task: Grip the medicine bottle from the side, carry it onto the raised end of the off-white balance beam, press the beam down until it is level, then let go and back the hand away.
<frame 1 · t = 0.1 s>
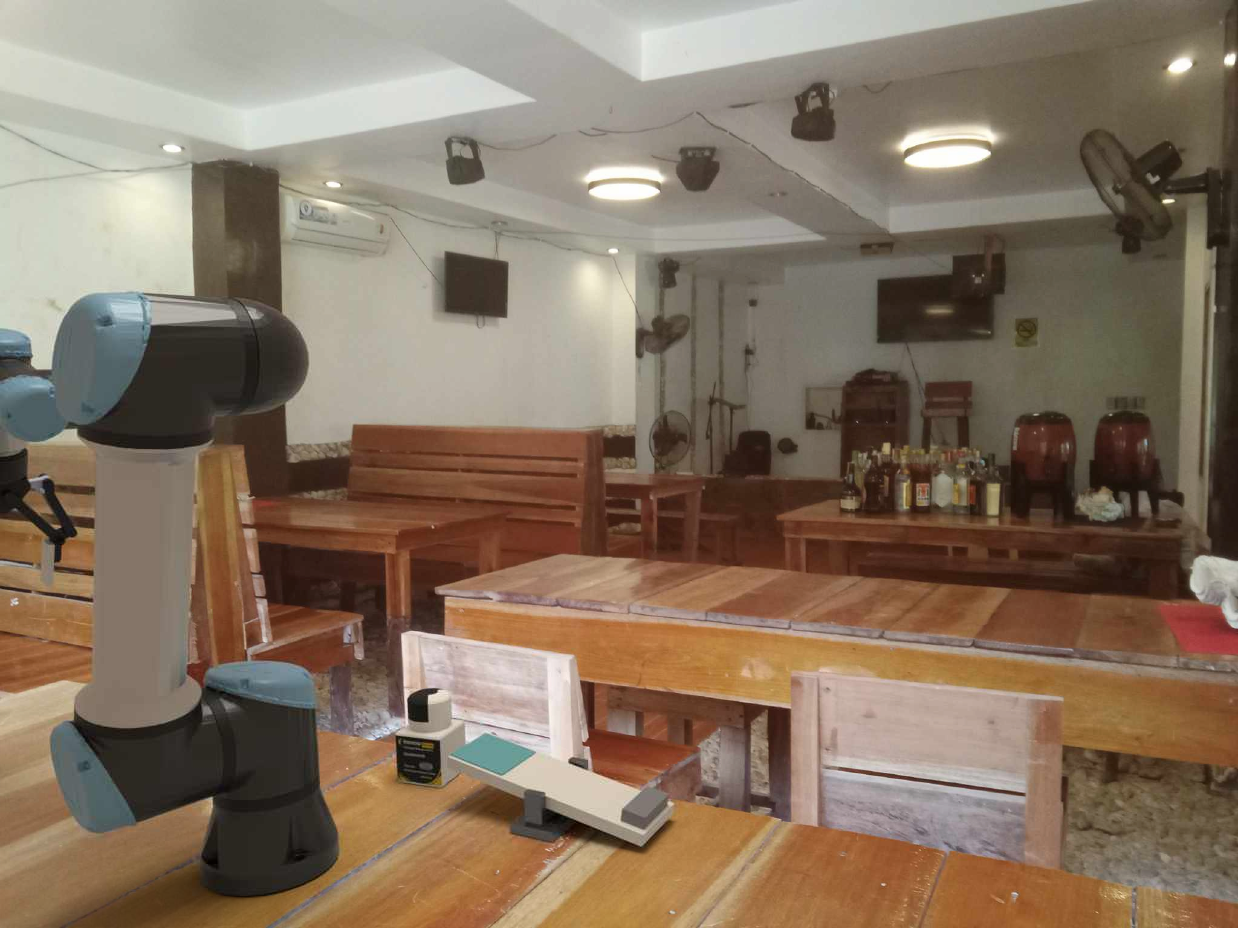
beam: (559, 779, 120), point 5 cm above the table, hinge at -10.0°
fulcrum: (558, 814, 120), on the table
medicine bottle: (432, 776, 134), on the table
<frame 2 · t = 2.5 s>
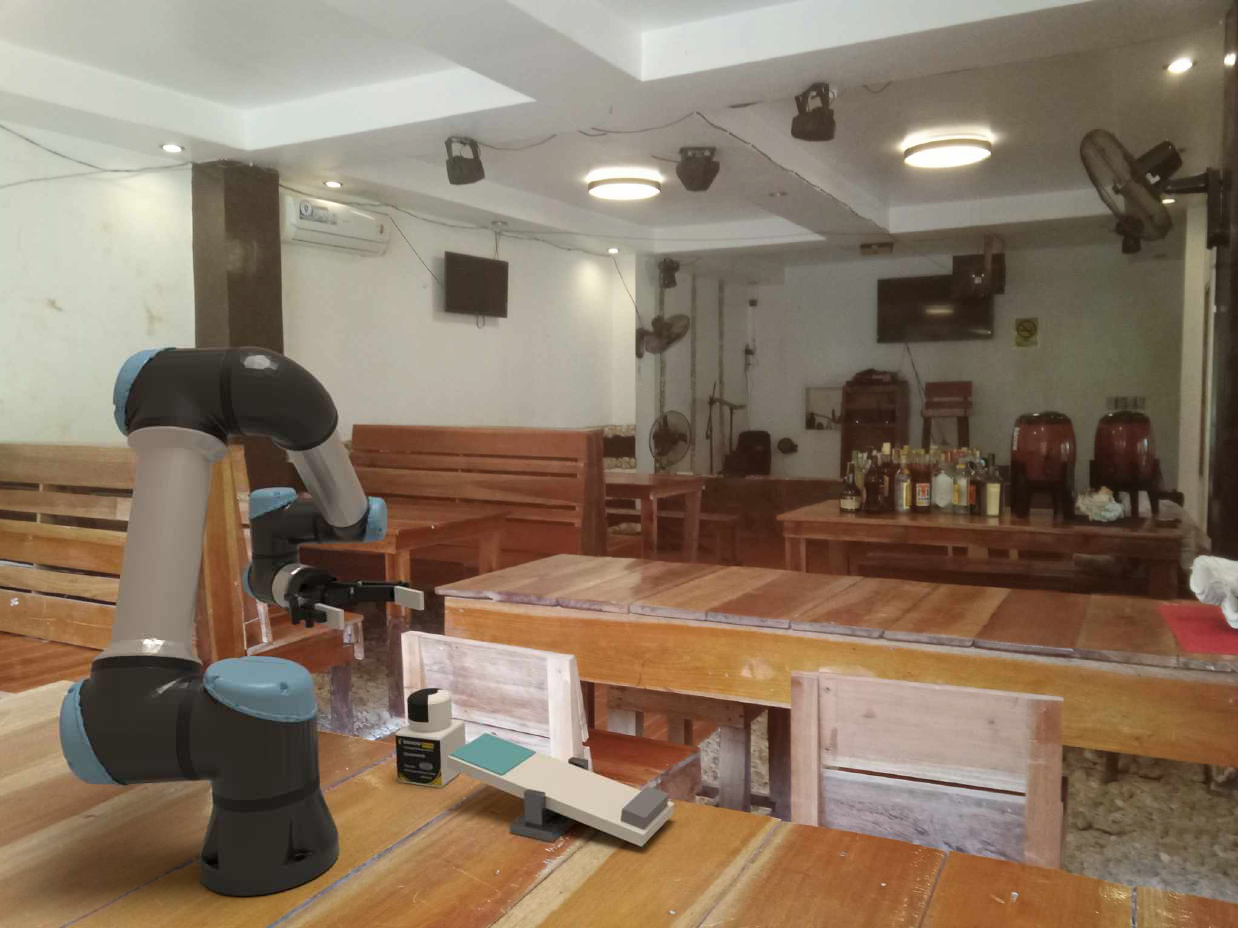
hand: (383, 610, 138), 22 cm above the table, tool horizontal, fingers open, 13 cm apart
nothing on the table moved.
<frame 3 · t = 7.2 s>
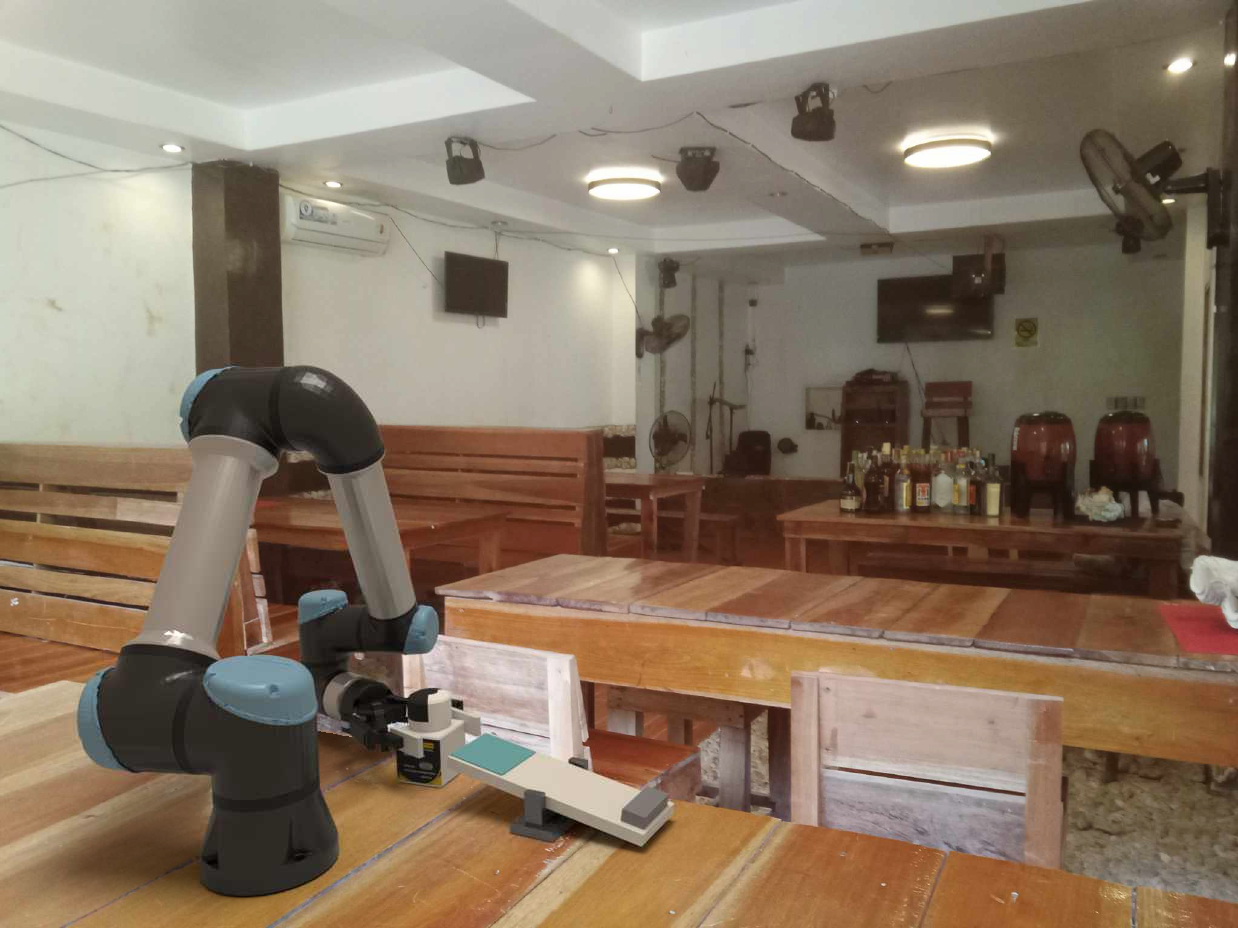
hand: (450, 736, 130), 7 cm above the table, tool horizontal, fingers closed on medicine bottle, 9 cm apart
medicine bottle: (432, 776, 134), on the table, touching gripper
everything else where it was.
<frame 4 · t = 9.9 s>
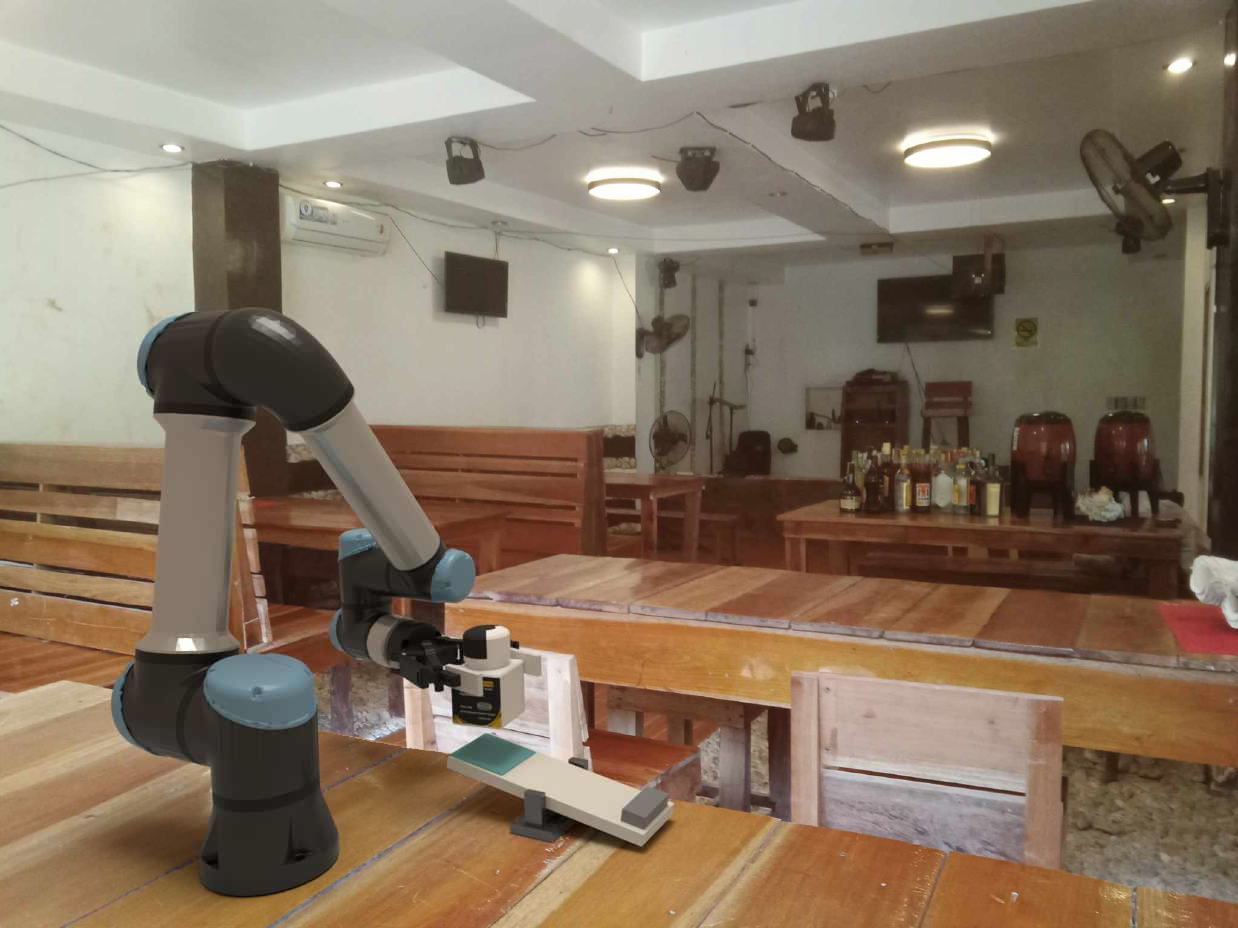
hand: (510, 675, 120), 18 cm above the table, tool horizontal, fingers closed on medicine bottle, 9 cm apart
medicine bottle: (489, 719, 124), point 11 cm above the table, touching gripper
everything else where it was.
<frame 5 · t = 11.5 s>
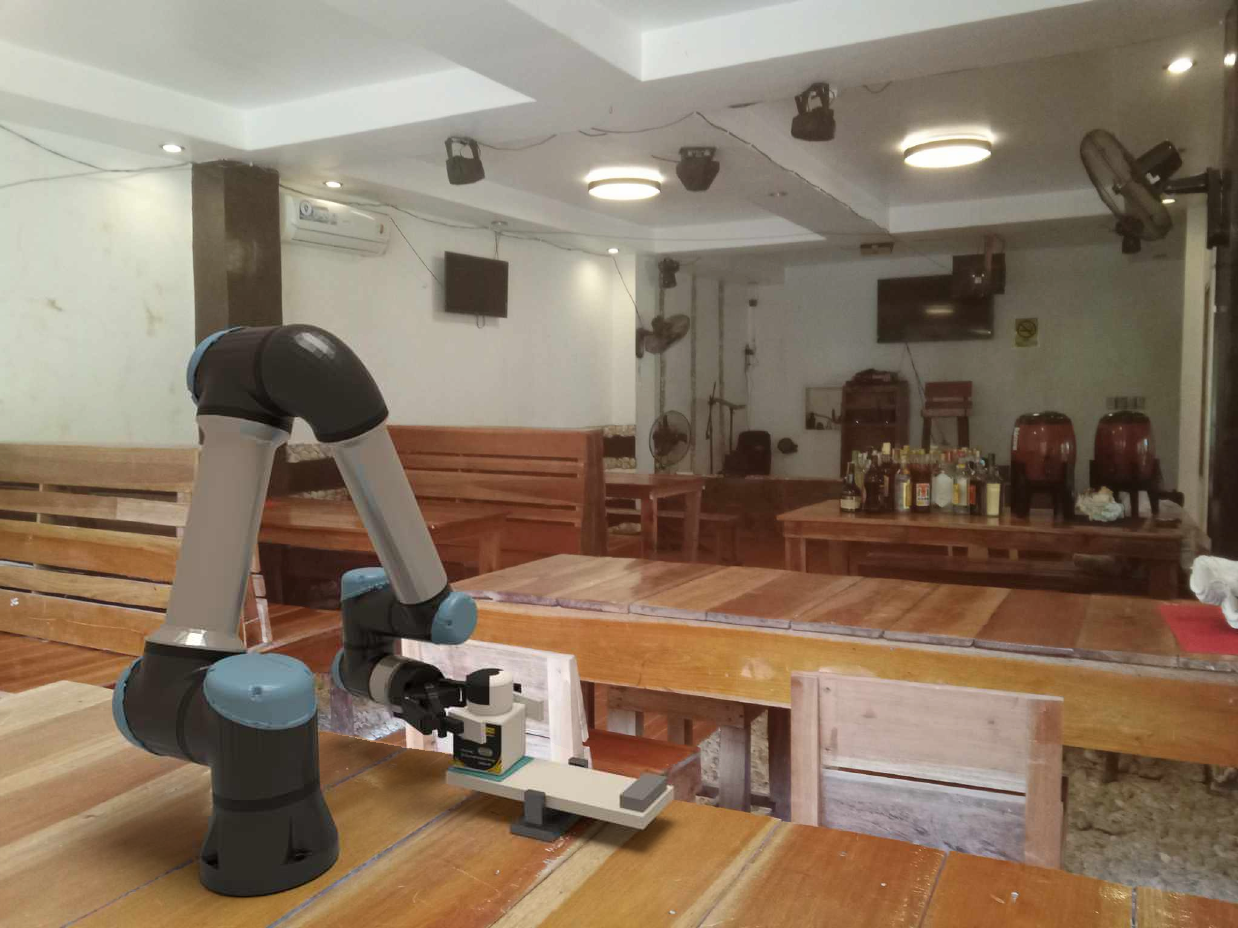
hand: (513, 721, 121), 12 cm above the table, tool horizontal, fingers closed on medicine bottle, 9 cm apart
beam: (557, 778, 120), point 5 cm above the table, hinge at -1.3°, touching medicine bottle
medicine bottle: (489, 762, 125), point 5 cm above the table, touching beam, gripper
when the fingers open (12 cm above the table, at t = 12.6 s): medicine bottle stays where it is, resting on beam.
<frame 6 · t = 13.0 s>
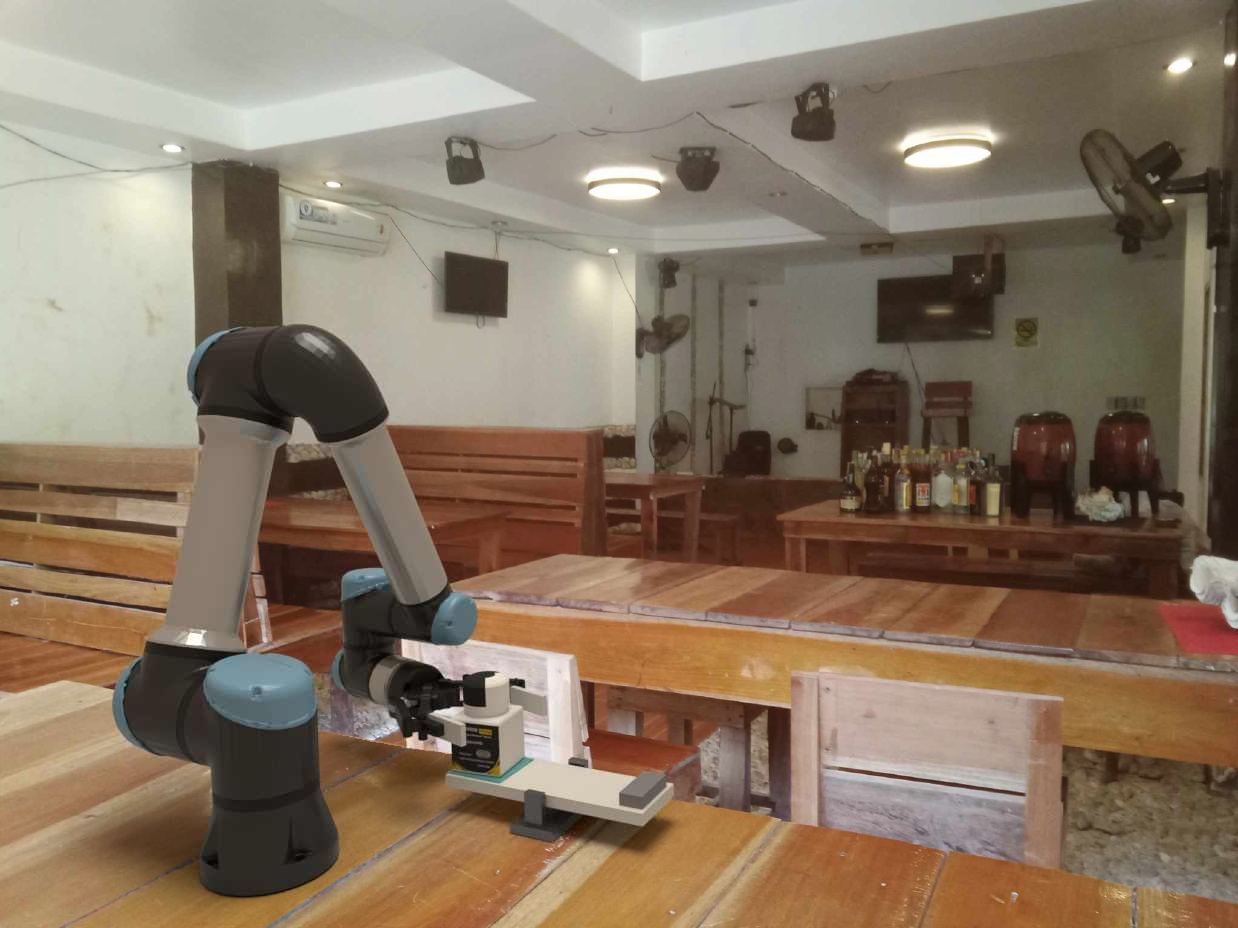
hand: (506, 719, 122), 12 cm above the table, tool horizontal, fingers open, 13 cm apart
beam: (557, 778, 120), point 5 cm above the table, hinge at 0.2°, touching medicine bottle
medicine bottle: (489, 765, 125), point 5 cm above the table, touching beam
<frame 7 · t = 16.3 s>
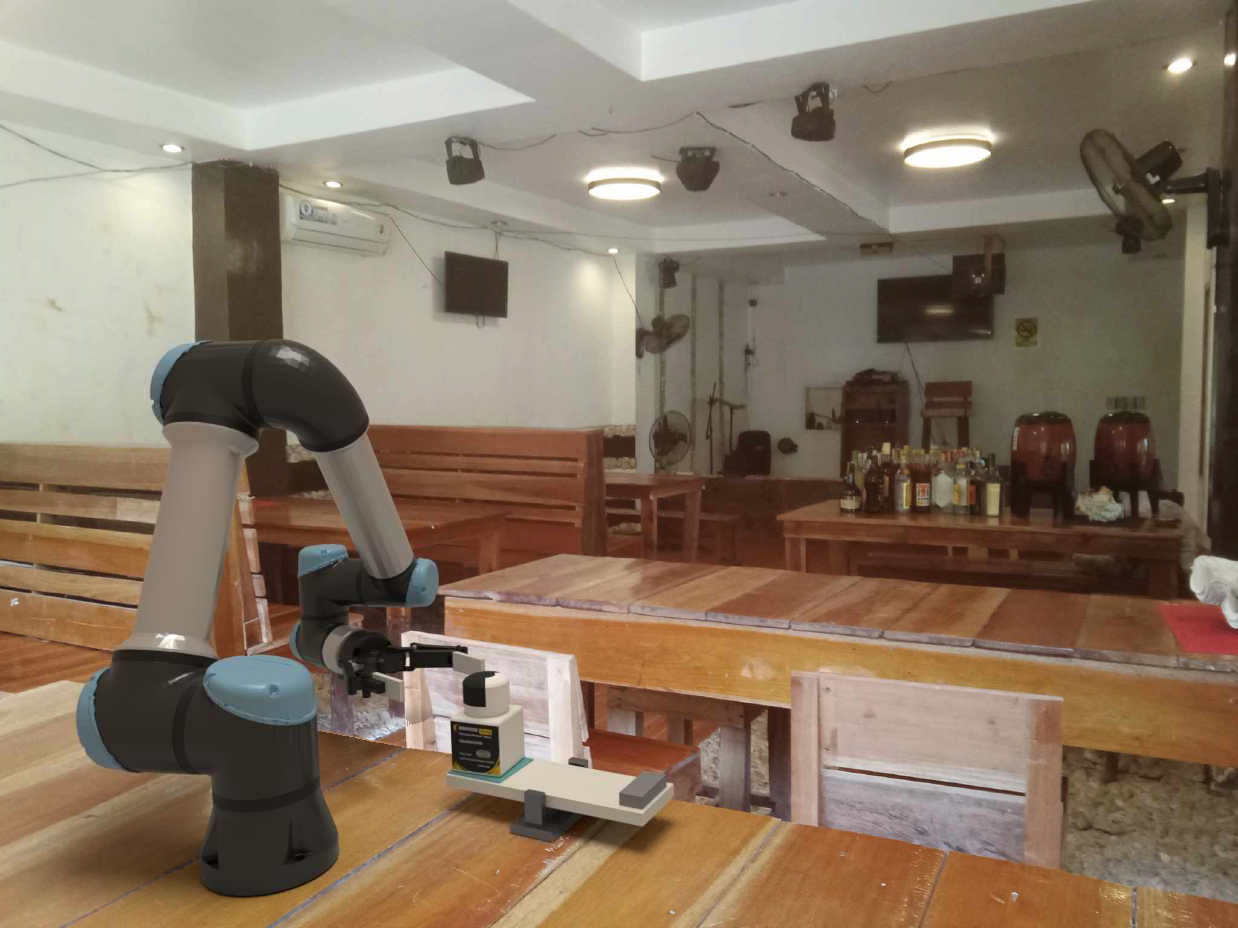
hand: (444, 679, 130), 14 cm above the table, tool horizontal, fingers open, 13 cm apart
nothing on the table moved.
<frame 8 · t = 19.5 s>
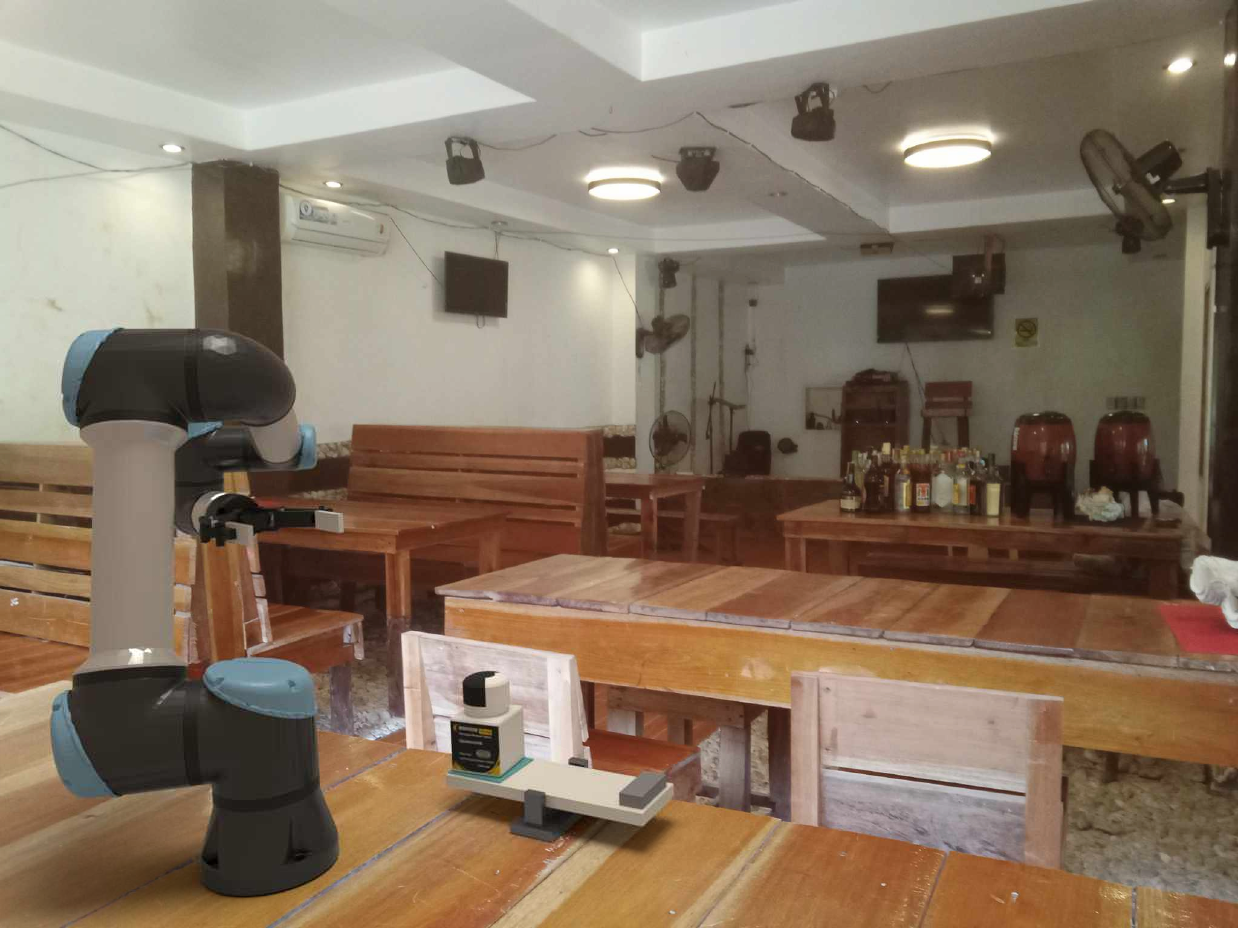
hand: (297, 529, 132), 35 cm above the table, tool horizontal, fingers open, 13 cm apart
nothing on the table moved.
at the end: beam at +0° (first picture: -10°); medicine bottle touching beam; medicine bottle tilted 0° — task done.
